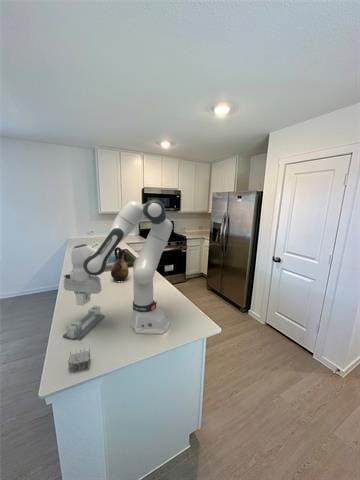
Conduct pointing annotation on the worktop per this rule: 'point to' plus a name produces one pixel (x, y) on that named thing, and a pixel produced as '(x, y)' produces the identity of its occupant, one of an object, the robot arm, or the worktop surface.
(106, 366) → the worktop surface
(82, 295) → the block
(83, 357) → the building frame
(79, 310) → the worktop surface
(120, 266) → the ceramic jug
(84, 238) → the worktop surface
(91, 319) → the rail plate
